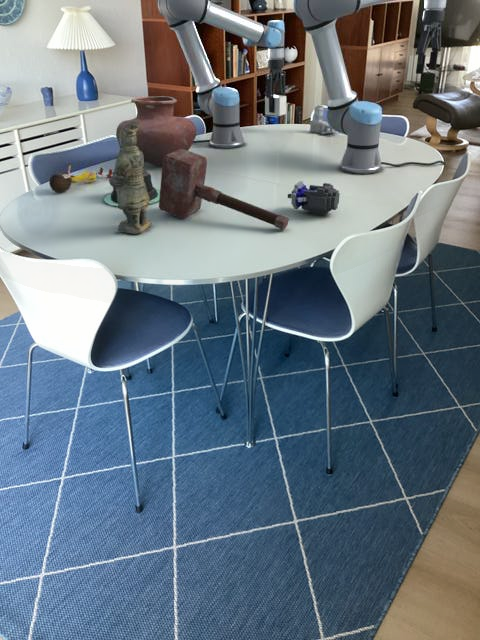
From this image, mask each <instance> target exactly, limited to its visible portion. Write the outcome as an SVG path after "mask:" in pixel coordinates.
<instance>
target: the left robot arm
mask: <svg viewBox="0 0 480 640" xmlns="http://www.w3.org/2000/svg"><path fill="white" fill-rule="evenodd" d="M157 8H158V10H159V12H160V14H161V16H162V17H164V18H165V20H166V22H167V25H168V27H169V29H170V30H172V31H174V32H175V35H176V38H177V39H178V42H179V45H180V47H181V50H182V51H183V54H184V56H185V59H186V61H187V64H188V66H189V69H190V72H191V74H192V76H193V79H194V81H195V83H196V89H195V92H196V95H197V103H198V106H199V108H200V110H201V111H202V112H204V113H205V114H207V115H209V116H212V119H213V120H212V123H213V125H212V131H211V135H210V139H201V140H194V141H193V144H200V143H201V144H202V143H209V145H210V147H211V148H216V149H235V148H240V147H242V146H244V145H245V140H244V139H245V138H244V136H243V132H242V130H241V127H240V125H241V124H240V93H239V91H238V90H237V89H235V88H233V87H228V86H222V85H223V84H222V83H221V81H220V79H219V78H216V76H215V74H214V72H213V69H212V66H211V64H210V61H209V59H208V56H207V53H206V51H205V48H204V46H203V42H202V41H201V38H200V36H199V33H198V30H197V28H196V25H195V22H196V23H197V24H202V23H205V24H207V25H210V26H212V27H214V28H218V29H220V30H222V31H225V32H228V33H230V34H232V35H235V36H238V37H240V38H242V42H243V45H244V46H246V47H263V48H267V58H268V59H267V68H268V69H269V73H266V74H265V80H266V81H265V97H267V98H269V112H270V113H275V98H274V95H275V91H276V92H277V93H276V94H277V95H280V96H286V95H285V94H286V73H287V72H286V71H283V68H284V67H285V59H284V58H285V33H286V31H285V22H284V21H283V20H280V19H279V20H278V19H277V20H269V21H268V22H267V25H265V24H262V23H261V22H258V21H256V20H253V19H251V18H249V17H246V16H244V15H241V14H239V13H237V12H235V11H232V10H230V9H229V8H225V7H223V6H221V5H218V4H216V3H213V2H211V1H210V0H157Z"/></svg>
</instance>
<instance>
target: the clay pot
mask: <svg viewBox="0 0 480 640" xmlns="http://www.w3.org/2000/svg"><path fill="white" fill-rule="evenodd" d="M130 102H131V103H134V105H135V107H136V112H137V113H136V116H135V117H134V118H130V119H128V120H127V119H126V120H122V121H121V122H120V123H119V124H118V125H117V127H116V133H115V137H116V139H117V142H119V140H118V138H119V133H120V130H121V129H123V128H124V127H125V126H126V125H127V124H128V123H131V122H133V121H137V122H138V123H139V127H138V130H137V131H136V138H137V143H136V146H137V147H138V149H139V150H141V151H142V153H143V156H144V163H147V164H150V165H155V166H163V158H164V156H165V155H167V154H170V153H172V152H174V151H177V150H179V149H184V150H187V151H189V150H190V149H191V147H192V146H193V144H194V143H193V141H195V140H196V136H197V127H196V125H195V124H194V122H193V121H192V120H191V119H190V118H188V117H184V116H174V108H175V105H176V103H177V102H178V100H177V99H176V98H174V97H173V96H165V95H161V96H160V95H159V96H142V97H140V96H139V97H134V98H131V101H130Z"/></svg>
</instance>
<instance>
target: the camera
mask: <svg viewBox="0 0 480 640" xmlns="http://www.w3.org/2000/svg"><path fill="white" fill-rule="evenodd" d="M324 107H325V106H324V105H314V107H313V108H314V110H313V113H314V119H312V120H310V127H309V132H310V133H316V134H320V135H325V134H331V133H335V132H337V131H335V130H334V129H332V128H331V127H330V126H329V124H328V122H327V120H326V121H325V120H323V113H324Z"/></svg>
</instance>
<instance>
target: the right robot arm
mask: <svg viewBox="0 0 480 640" xmlns="http://www.w3.org/2000/svg"><path fill="white" fill-rule="evenodd" d="M394 1H395V0H293V11H294V13H295V15H296V16H297V17H298V18H299V19H300V20H301V21H302V24H303V28H304V31H305V32H306V33H307V34H310V36H311V40H312V43H313V46H314V50H315V54H316V58H317V60H318V64H319V67H320V72H321V74H322V79H323V82H324V85H325V88H326V93H327V96H328V100H327V102H326V107H327V110H326V114H325V117H326V122H328V124H329V126H330V127H331V128H332V129H334V130H335V131H336V132H337V133H339V134H343V135H346V136H347V138H346V139H347V140H346V149H345V151H344V154H343V156H342V158H341V160H340V163H339V164H340V170H341V171H343V172H345V173H349V174H355V175H356V174H357V175H369V174H370V175H371V174H376V173H378V172H380V171H382V165H385V166H390V167H394V168H395V167H402V166H403V167H404V166H406V165H416V166H434V165H436V164H442V165H444V166H446V165H447V164H446V162H445V161H444V160H436V161H434V162H417V161H406V162H402V163H397V164H395V163H391V162H385V161H381V155H380V150H379V147H380V145H379V144H380V138H381V137H380V136H381V129H382V128H381V127H382V120H383V108H382V107H381V105H379V104H377V103H375V102H370V101H365V100H364V101H363V100H359V98H358V93H357V92H356V91H355V90H352V88H351V85H350V79H349V76H348V72H347V67H346V65H345V61H344V57H343V53H342V48H341V46H340V42H339V37H338V34H337V30H336V29H337V28H336V26H335V24H336V22H337V20H338V19H339V18H342V17H346V16H348V15H353V14H357V13H358V12H359V11H360V9H363V8H368V7H372V6H376V5H381V4H385V3H390V2H394ZM423 2H424V6H423V7H424V10H423V12H422V13H423V14H422V22H424V23H425V22H426V24H423V25H422V28H421V32H420V35H419V36H420V37H419V39H418V43H417V46H416V47H417V48H416V51H415V56H417V59H416V69H415V74H416V75H417V74H418V75H423V74H424V71H425V64H426V57H427V55H426V52H427V51H428V50H427V49H428V47H429V44H430V47H431V51H430V55H429V62H428V69H427V70H429V71H436V70H437V63H438V57H439V52H441V51H442V23H440V22H443V21H444V19H445V13H446V11H445V10H444V9H446V7H447V6H446V5H447V0H423Z"/></svg>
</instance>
